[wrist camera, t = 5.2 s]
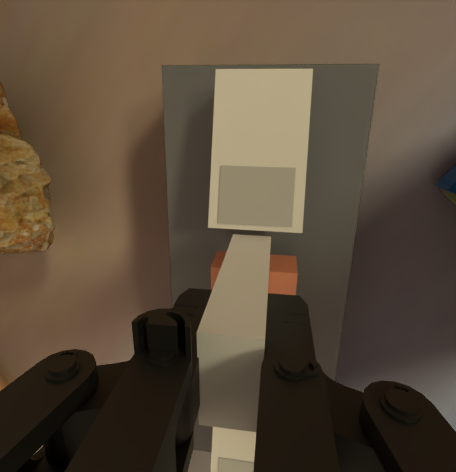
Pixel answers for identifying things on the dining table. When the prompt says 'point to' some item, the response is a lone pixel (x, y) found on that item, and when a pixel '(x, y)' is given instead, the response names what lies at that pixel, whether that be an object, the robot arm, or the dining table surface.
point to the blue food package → (448, 185)
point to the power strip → (316, 192)
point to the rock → (22, 191)
